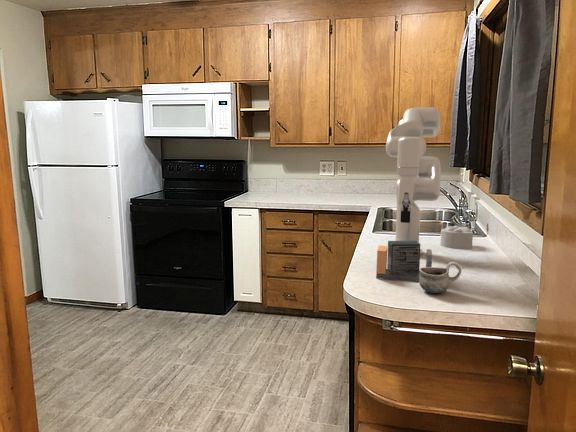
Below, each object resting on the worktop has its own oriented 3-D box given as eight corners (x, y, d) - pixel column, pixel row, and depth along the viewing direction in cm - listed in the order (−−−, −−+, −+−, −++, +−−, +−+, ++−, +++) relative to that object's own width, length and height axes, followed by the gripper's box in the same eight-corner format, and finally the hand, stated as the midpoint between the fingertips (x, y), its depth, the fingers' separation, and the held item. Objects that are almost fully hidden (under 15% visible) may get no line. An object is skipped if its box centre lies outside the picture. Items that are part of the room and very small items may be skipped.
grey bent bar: (377, 272, 172) (378, 246, 170) (429, 275, 168) (431, 249, 166) (376, 278, 164) (377, 251, 163) (430, 282, 160) (432, 255, 158)
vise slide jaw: (377, 267, 172) (378, 245, 170) (386, 267, 171) (387, 245, 169) (376, 273, 164) (377, 250, 163) (385, 274, 163) (386, 251, 162)
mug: (415, 286, 156) (416, 256, 154) (454, 287, 155) (456, 257, 154) (421, 296, 147) (423, 264, 145) (463, 297, 146) (465, 265, 144)
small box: (414, 267, 178) (416, 239, 177) (420, 272, 172) (421, 243, 170) (386, 267, 178) (387, 239, 176) (390, 272, 172) (392, 243, 170)
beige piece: (472, 249, 206) (474, 230, 205) (441, 248, 209) (442, 228, 208) (469, 244, 216) (471, 225, 215) (439, 242, 219) (440, 224, 218)
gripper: (397, 170, 178) (395, 216, 181) (396, 173, 161) (393, 223, 164) (418, 171, 176) (415, 217, 179) (419, 174, 160) (416, 225, 162)
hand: (405, 220), depth 172 cm, fingers open, 9 cm apart
